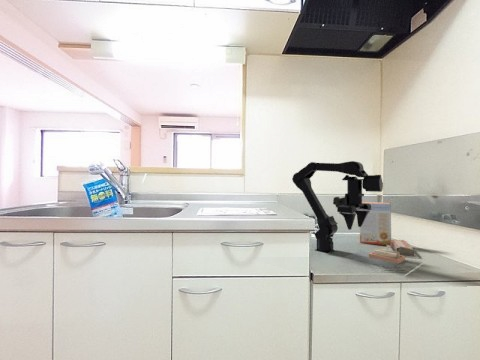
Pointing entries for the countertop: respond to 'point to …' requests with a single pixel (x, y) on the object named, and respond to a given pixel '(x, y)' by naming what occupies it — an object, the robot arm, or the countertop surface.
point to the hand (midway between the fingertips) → (354, 228)
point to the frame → (387, 258)
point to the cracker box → (377, 224)
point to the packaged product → (402, 248)
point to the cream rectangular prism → (387, 253)
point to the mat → (369, 259)
